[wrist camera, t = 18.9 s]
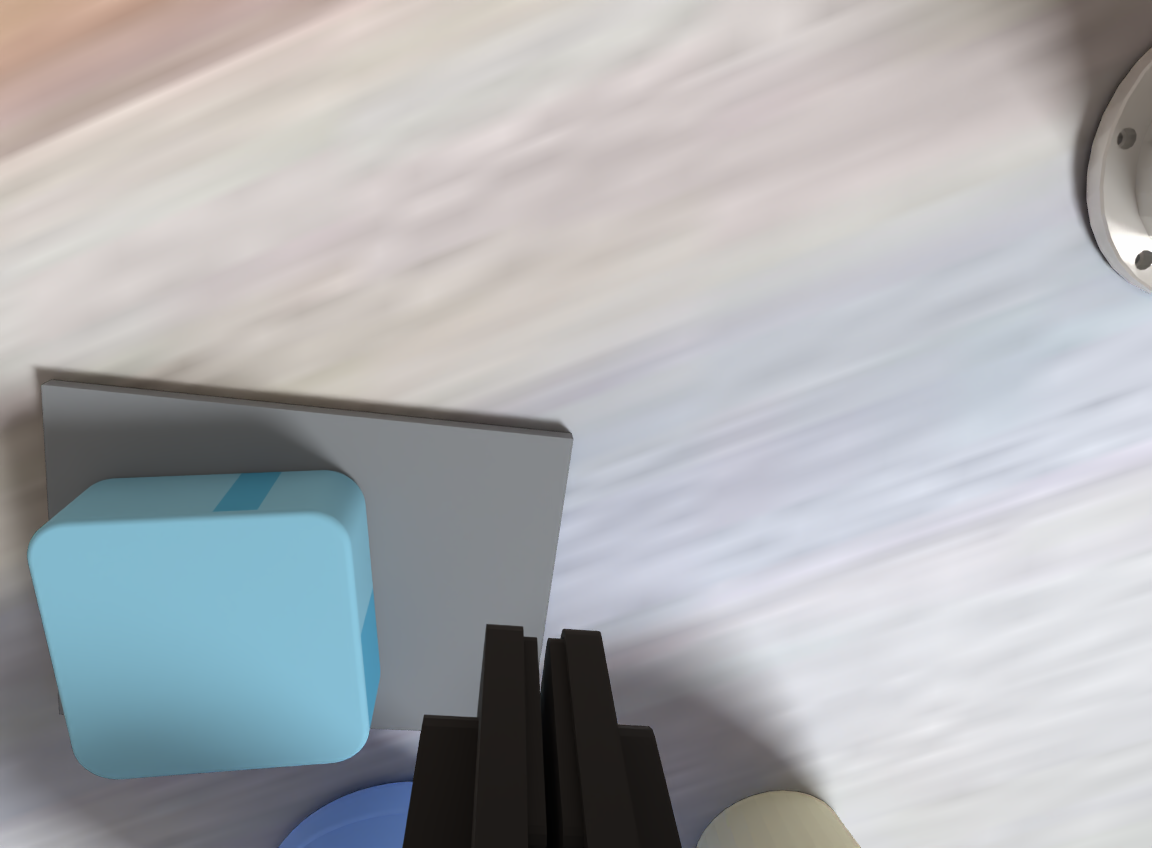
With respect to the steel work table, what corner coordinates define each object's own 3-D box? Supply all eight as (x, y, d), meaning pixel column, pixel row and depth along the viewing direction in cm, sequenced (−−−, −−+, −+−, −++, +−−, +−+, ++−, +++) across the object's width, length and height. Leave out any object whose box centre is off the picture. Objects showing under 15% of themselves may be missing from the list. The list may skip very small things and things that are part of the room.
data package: (363, 466, 35) (73, 477, 34) (346, 508, 31) (15, 523, 30) (383, 697, 39) (123, 714, 38) (371, 763, 35) (77, 785, 33)
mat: (571, 433, 37) (573, 438, 36) (527, 725, 41) (528, 735, 41) (51, 379, 33) (41, 384, 33) (67, 703, 38) (59, 714, 37)
